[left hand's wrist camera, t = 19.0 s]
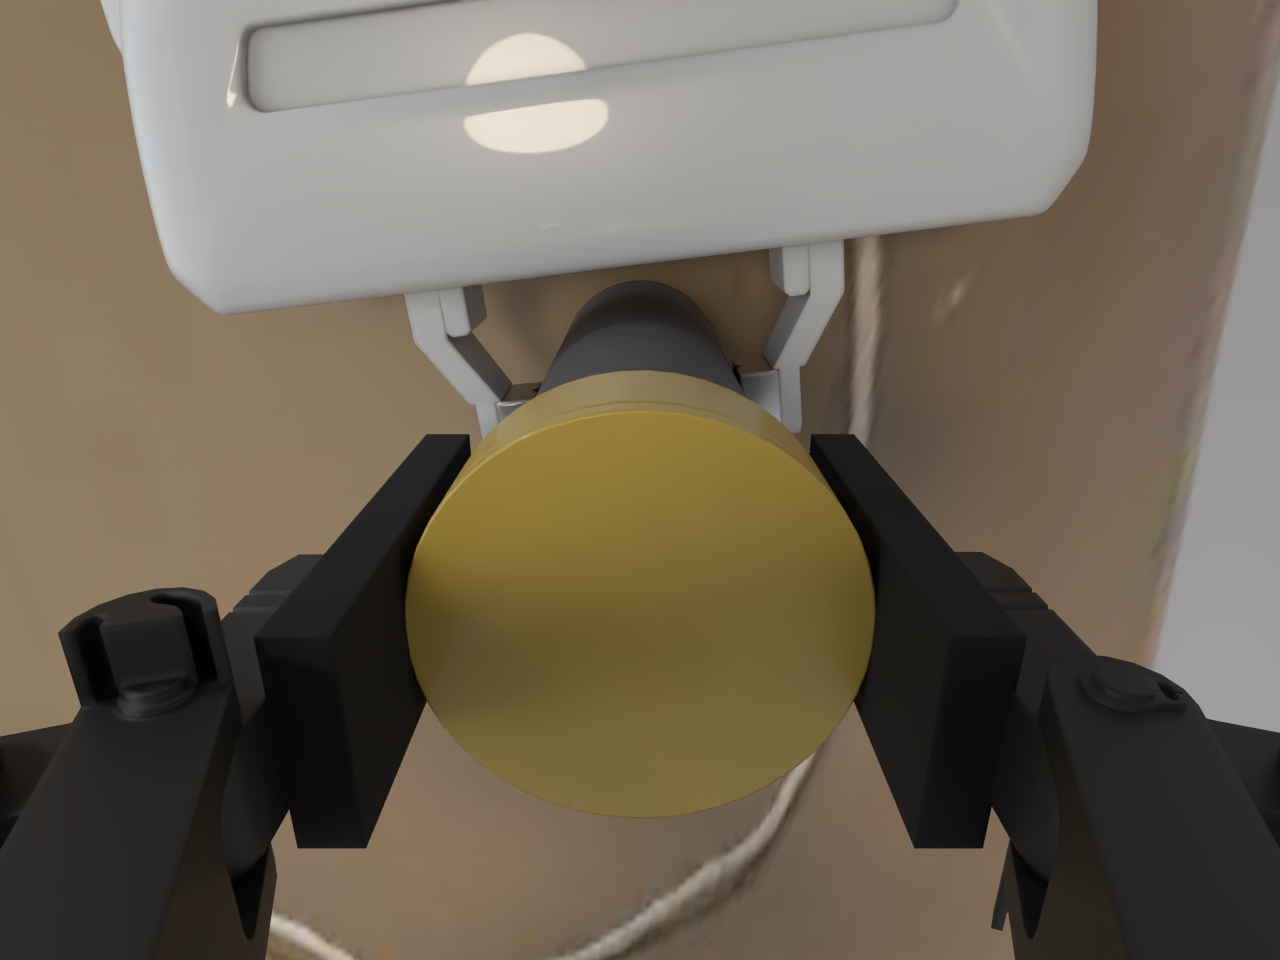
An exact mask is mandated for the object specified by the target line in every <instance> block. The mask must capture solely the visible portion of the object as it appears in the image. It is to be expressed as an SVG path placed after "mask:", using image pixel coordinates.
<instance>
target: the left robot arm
mask: <svg viewBox="0 0 1280 960" xmlns="http://www.w3.org/2000/svg"><path fill="white" fill-rule="evenodd" d="M470 456H471V450H470V438H469V434H427V435H426V436H425V437H424V438H423V439H422V440H421V442H420V443H419V444H418V445H417V446H416V447H415V449H414V450H413V451H412V452H411V453H410V454H409V456H408V457H407V458H406V459H405V460H404V461H403V463H402V464H401V465H400V466H399V467H398V468H397V470H396V471H395V472H394V473H393V474H392V476H391V477H390V478H389V479H388V480H387V481H386V483H385V484H384V485H383V486H382V487H381V488H380V490H379V491H378V492H377V493H376V494H375V495H374V497H373V498H372V499H371V500H370V501H369V502H368V504H367V505H366V506H365V507H364V508H363V509H362V511H361V512H360V513H359V514H358V515H357V516H356V518H355V519H354V520H353V521H352V522H351V524H350V525H349V526H348V527H347V528H346V529H345V531H344V532H343V533H342V534H341V535H340V536H339V538H338V539H337V540H336V541H335V542H334V543H333V545H332V546H331V547H330V548H329V549H328V550H327V552H326V553H325V554H324V555H297V556H296V557H294V558H292V559H290V560H288V561H287V562H285V563H283V564H281V565H279V566H278V567H276V568H274V569H272V570H270V571H269V572H268V573H267V574H266V575H265V576H264V577H263V578H262V579H261V580H260V581H259V582H258V583H257V584H256V585H255V586H254V587H253V588H252V589H251V590H250V591H249V595H245V596H244V598H243V599H242V600H241V601H240V602H239V603H238V604H237V605H236V606H235V607H234V608H233V612H229V613H228V614H227V615H226V616H225V617H224V618H223V619H222V620H221V621H220V616H219V612H218V607H217V603H216V599H215V598H214V597H212V596H211V595H209V594H208V593H206V592H205V591H202V590H196V589H190V588H184V587H181V588H162V589H153V590H149V591H144V592H139V593H134V594H129V595H126V596H123V597H120V598H117V599H114V600H111V601H109V602H106V603H103V604H100V605H98V606H96V607H94V608H92V609H90V610H88V611H87V612H85V613H83V614H81V615H79V616H77V617H75V618H74V619H73V620H72V621H70V622H69V623H68V624H67V625H66V626H65V627H64V628H63V629H62V630H61V631H60V632H58V635H59V638H60V641H61V644H62V647H63V651H64V654H65V657H66V660H67V663H68V666H69V669H70V673H71V676H72V679H73V682H74V685H75V688H76V691H77V695H78V698H79V701H80V704H81V708H80V710H79V712H78V714H77V715H76V717H75V719H74V721H73V722H72V723H69V724H64V725H59V726H53V727H48V728H43V729H38V730H32V731H27V732H22V733H17V734H11V735H6V736H1V737H0V960H265V956H266V949H267V942H268V935H269V929H270V922H271V915H272V908H273V901H274V894H275V887H276V880H277V872H276V864H275V858H274V854H273V849H272V845H271V841H272V839H273V837H274V835H275V834H276V832H277V830H278V828H279V826H280V825H281V823H282V821H283V819H284V818H285V816H286V814H287V812H288V810H289V809H290V814H291V819H292V824H293V828H294V833H295V838H296V843H297V847H298V848H366V847H367V845H368V842H369V840H370V837H371V835H372V833H373V830H374V828H375V825H376V823H377V820H378V818H379V816H380V813H381V811H382V808H383V806H384V803H385V801H386V799H387V796H388V794H389V791H390V789H391V786H392V784H393V782H394V779H395V777H396V774H397V772H398V770H399V767H400V765H401V762H402V760H403V757H404V755H405V753H406V750H407V748H408V745H409V743H410V740H411V738H412V736H413V733H414V731H415V728H416V726H417V723H418V721H419V719H420V716H421V714H422V711H423V709H424V707H425V704H426V702H427V700H426V698H425V696H424V693H423V691H422V689H421V687H420V685H419V683H418V681H417V678H416V675H415V672H414V669H413V665H412V662H411V659H410V653H409V645H408V637H407V630H406V621H405V604H404V601H405V594H406V587H407V580H408V573H409V570H410V567H411V564H412V560H413V557H414V554H415V551H416V547H417V545H418V543H419V541H420V539H421V537H422V535H423V533H424V531H425V529H426V526H427V524H428V522H429V520H430V519H431V517H432V516H433V514H434V513H435V511H436V510H437V508H438V506H439V505H440V503H441V501H442V500H443V498H444V497H445V495H446V494H447V492H448V490H449V489H450V487H451V486H452V484H453V482H454V481H455V479H456V478H457V476H458V474H459V473H460V471H461V470H462V468H463V467H464V465H465V464H466V462H467V461H468V459H469V458H470ZM810 456H811V458H812V459H813V461H814V462H815V464H816V466H817V467H818V469H819V470H820V472H821V474H822V475H823V477H824V478H825V480H826V482H827V483H828V485H829V486H830V488H831V490H832V491H833V493H834V494H835V496H836V498H837V499H838V501H839V502H840V504H841V506H842V507H843V509H844V510H845V512H846V514H847V516H848V517H849V519H850V521H851V523H852V524H853V526H854V528H855V530H856V531H857V533H858V535H859V537H860V540H861V542H862V545H863V548H864V550H865V553H866V556H867V558H868V561H869V564H870V569H871V574H872V578H873V583H874V588H875V601H876V619H875V627H874V635H873V643H872V650H871V656H870V660H869V665H868V669H867V671H866V674H865V676H864V679H863V681H862V684H861V686H860V689H859V691H858V694H857V695H856V697H855V699H854V703H855V705H856V708H857V710H858V713H859V715H860V717H861V720H862V722H863V725H864V727H865V730H866V732H867V734H868V737H869V739H870V742H871V744H872V747H873V749H874V751H875V754H876V756H877V759H878V761H879V763H880V766H881V768H882V771H883V773H884V776H885V778H886V780H887V783H888V785H889V788H890V790H891V793H892V795H893V797H894V800H895V802H896V805H897V807H898V810H899V812H900V814H901V817H902V819H903V822H904V824H905V826H906V829H907V831H908V834H909V836H910V839H911V841H912V843H913V846H914V848H983V845H984V840H985V835H986V831H987V826H988V821H989V817H990V812H991V807H993V809H994V811H995V813H996V814H997V816H998V818H999V820H1000V821H1001V823H1002V825H1003V827H1004V828H1005V830H1006V832H1007V834H1008V836H1009V837H1010V841H1009V845H1008V849H1007V854H1006V858H1005V863H1004V867H1003V871H1002V876H1001V880H1000V885H999V889H998V893H997V898H996V902H995V907H994V911H993V918H992V925H991V928H993V929H997V930H1001V931H1002V930H1003V926H1004V922H1005V917H1006V914H1007V913H1009V920H1010V927H1011V933H1012V940H1013V947H1014V954H1015V960H1280V733H1278V732H1272V731H1267V730H1262V729H1257V728H1252V727H1246V726H1241V725H1236V724H1230V723H1225V722H1220V721H1215V720H1211V719H1207V718H1206V717H1205V716H1204V714H1203V712H1202V710H1201V709H1200V707H1199V705H1198V704H1197V703H1196V702H1195V701H1194V700H1193V699H1192V697H1191V696H1190V695H1189V694H1188V693H1187V692H1186V691H1185V690H1184V689H1183V688H1181V687H1180V686H1178V685H1177V684H1175V683H1174V682H1172V681H1170V680H1169V679H1167V678H1166V677H1164V676H1163V675H1161V674H1159V673H1156V672H1154V671H1152V670H1149V669H1147V668H1144V667H1142V666H1140V665H1137V664H1135V663H1131V662H1127V661H1123V660H1119V659H1115V658H1111V657H1107V656H1097V655H1096V654H1095V653H1094V652H1093V651H1092V650H1091V649H1090V648H1089V647H1088V646H1087V645H1086V644H1085V643H1084V642H1083V641H1082V640H1081V639H1080V638H1079V637H1078V636H1077V635H1076V634H1075V633H1074V632H1073V631H1072V630H1071V629H1070V628H1069V627H1068V626H1067V624H1066V623H1065V622H1064V621H1063V620H1062V619H1061V618H1060V617H1059V616H1058V615H1057V614H1056V613H1055V612H1054V611H1053V610H1048V605H1047V604H1046V603H1045V602H1044V601H1043V600H1042V599H1041V598H1040V597H1039V596H1038V595H1037V594H1036V593H1032V588H1031V587H1030V586H1029V585H1028V584H1027V583H1026V582H1025V581H1024V580H1023V579H1022V578H1021V577H1020V576H1019V575H1018V574H1017V573H1016V572H1015V571H1014V570H1013V569H1012V568H1010V567H1008V566H1006V565H1005V564H1003V563H1001V562H999V561H997V560H996V559H994V558H992V557H990V556H988V555H986V554H985V553H983V552H954V551H953V550H952V549H951V547H950V546H949V545H948V544H947V543H946V542H945V540H944V539H943V538H942V537H941V536H940V535H939V533H938V532H937V531H936V530H935V529H934V528H933V526H932V525H931V524H930V523H929V522H928V521H927V519H926V518H925V517H924V516H923V515H922V514H921V512H920V511H919V510H918V509H917V508H916V506H915V505H914V504H913V503H912V502H911V501H910V499H909V498H908V497H907V496H906V495H905V494H904V492H903V491H902V490H901V489H900V488H899V487H898V485H897V484H896V483H895V482H894V481H893V480H892V478H891V477H890V476H889V475H888V474H887V473H886V471H885V470H884V469H883V468H882V467H881V466H880V464H879V463H878V462H877V461H876V460H875V459H874V457H873V456H872V455H871V454H870V453H869V451H868V450H867V449H866V448H865V447H864V446H863V444H862V443H861V442H860V441H859V440H858V439H857V437H856V436H855V435H854V434H811V444H810Z"/></svg>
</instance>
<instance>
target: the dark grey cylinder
mask: <svg viewBox="0 0 1280 960" xmlns="http://www.w3.org/2000/svg"><path fill="white" fill-rule="evenodd" d="M643 370H650V371H660V372H669V373H678V374H682V375H686V376H691V377H695V378H699V379H703V380H706V381H709V382H712V383H714V384H717V385H720V386H722V387H725V388H728V389H730V390H732V391H734V392H736V393H738V394H740V395H741V396H743V397H745V395H744V393H743V391H742V389H741V387H740V385H739V383H738V381H737V379H736V377H735V375H734V373H733V371H732V369H731V367H730V365H729V363H728V361H727V359H726V357H725V355H724V353H723V351H722V349H721V347H720V345H719V343H718V341H717V339H716V337H715V335H714V333H713V331H712V329H711V327H710V324H709V323H708V321H707V319H706V317H705V316H704V314H703V313H702V311H701V310H700V309H699V308H698V306H697V305H696V304H695V303H694V302H693V301H692V300H691V299H689V298H688V297H687V296H685V295H684V294H683V293H681V292H679V291H678V290H676V289H674V288H672V287H669V286H667V285H664V284H660V283H656V282H650V281H631V282H625V283H620V284H617V285H614V286H611V287H609V288H607V289H605V290H603V291H601V292H600V293H598V294H597V295H595V296H594V297H593V298H592V299H590V300H589V301H588V302H587V303H586V304H585V305H584V306H583V307H582V309H581V310H580V311H579V313H578V314H577V315H576V317H575V319H574V321H573V323H572V324H571V326H570V328H569V331H568V333H567V335H566V337H565V339H564V341H563V343H562V345H561V347H560V349H559V351H558V353H557V355H556V357H555V359H554V361H553V363H552V365H551V367H550V369H549V371H548V373H547V375H546V377H545V379H544V381H543V383H542V385H541V387H540V389H539V391H538V393H537V395H536V397H537V396H538V395H540V394H542V393H545V392H547V391H549V390H551V389H554V388H556V387H558V386H560V385H563V384H565V383H568V382H572V381H575V380H579V379H582V378H585V377H589V376H592V375H599V374H605V373H611V372H618V371H643ZM745 398H746V397H745Z"/></svg>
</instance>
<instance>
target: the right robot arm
mask: <svg viewBox="0 0 1280 960" xmlns="http://www.w3.org/2000/svg"><path fill="white" fill-rule="evenodd" d="M100 1H101V4H102V7H103V10H104V13H105V16H106V19H107V23H108V26H109V29H110V32H111V34H112V37H113V39H114V41H115V43H116V45H117V47H118V49H119V50H120V52H121V54H122V56H123V64H124V70H125V77H126V83H127V89H128V96H129V102H130V108H131V114H132V120H133V126H134V131H135V136H136V141H137V146H138V151H139V156H140V160H141V165H142V170H143V175H144V179H145V184H146V188H147V192H148V196H149V200H150V205H151V209H152V213H153V217H154V220H155V224H156V228H157V232H158V236H159V239H160V243H161V246H162V249H163V252H164V255H165V258H166V261H167V264H168V266H169V268H170V270H171V272H172V274H173V275H174V277H175V278H176V279H177V280H178V281H179V282H180V283H181V284H182V285H183V286H185V287H186V288H187V289H188V290H189V291H190V292H191V293H192V294H194V295H195V296H196V297H197V298H198V299H199V300H200V301H202V302H203V303H204V304H205V305H207V306H208V307H209V308H210V309H212V310H213V311H214V312H216V313H218V314H221V315H237V314H246V313H254V312H262V311H270V310H278V309H286V308H295V307H303V306H311V305H319V304H327V303H335V302H343V301H351V300H359V299H367V298H375V297H383V296H392V295H400V294H404V297H405V302H406V306H407V311H408V315H409V319H410V324H411V328H412V333H413V337H414V342H415V344H416V345H417V346H418V347H419V348H420V349H421V350H422V351H423V353H424V354H425V355H426V356H427V357H428V358H429V359H430V360H431V362H432V363H433V364H434V365H435V366H436V367H437V368H438V369H439V371H440V372H441V373H442V374H443V375H444V376H445V377H446V378H447V379H448V381H449V382H450V383H451V384H452V385H453V386H454V387H455V388H456V390H457V391H458V392H459V393H460V394H461V395H462V396H463V397H464V399H465V400H466V401H467V402H468V403H469V404H470V405H476V410H477V415H478V420H479V425H480V429H481V434H482V439H484V438H485V437H486V436H487V435H488V434H489V433H490V432H491V431H492V429H493V428H494V427H495V426H496V425H498V424H499V423H500V422H501V421H502V420H504V419H505V418H506V417H507V416H508V415H510V414H511V413H512V412H513V411H514V410H516V409H517V408H519V407H520V406H522V405H524V404H525V403H527V402H529V401H530V400H532V399H533V398H535V397H536V395H537V393H538V391H539V389H540V387H541V385H542V382H536V383H525V384H515V385H511V384H512V382H511V381H510V380H509V379H508V377H507V376H506V375H505V374H504V372H503V371H502V370H501V368H500V367H499V366H498V365H497V363H496V362H495V361H494V360H493V358H492V357H491V356H490V354H489V353H488V352H487V351H486V349H485V348H484V347H483V346H482V344H481V343H480V342H479V341H478V339H477V338H476V337H475V335H474V334H473V333H472V331H473V330H474V329H475V328H476V327H477V326H478V325H480V324H481V323H482V322H483V321H484V320H485V319H486V317H487V312H486V307H485V301H484V295H483V290H482V284H488V283H497V282H505V281H513V280H521V279H529V278H537V277H545V276H553V275H561V274H569V273H577V272H585V271H593V270H602V269H610V268H618V267H626V266H634V265H642V264H650V263H658V262H666V261H674V260H682V259H690V258H698V257H707V256H715V255H723V254H731V253H739V252H747V251H755V250H763V249H768V251H769V264H770V278H771V282H772V283H773V284H774V285H775V286H776V287H778V288H779V289H781V290H782V291H783V292H785V293H786V294H788V295H789V296H788V299H787V301H786V303H785V305H784V307H783V309H782V311H781V314H780V316H779V318H778V320H777V322H776V324H775V326H774V328H773V331H772V333H771V335H770V337H769V339H768V341H767V343H766V346H765V348H764V350H763V352H762V354H763V355H761V356H754V357H747V358H739V359H732V371H733V373H734V375H735V377H736V379H737V381H738V383H739V385H740V387H741V389H742V391H743V393H744V395H745V397H746V398H747V399H749V400H751V401H753V402H754V403H756V404H757V405H759V406H760V407H761V408H763V409H764V410H766V411H767V412H768V413H770V414H771V415H772V416H774V417H775V418H776V419H778V420H779V421H780V422H781V423H782V424H783V425H784V426H785V427H786V428H787V429H788V430H789V431H790V432H791V433H792V434H794V433H800V431H801V425H802V414H801V392H800V369H799V367H802V366H805V364H806V362H807V361H808V359H809V357H810V355H811V353H812V351H813V349H814V348H815V346H816V344H817V342H818V340H819V338H820V336H821V334H822V333H823V331H824V329H825V327H826V325H827V323H828V321H829V320H830V318H831V316H832V314H833V312H834V310H835V308H836V306H837V305H838V303H839V301H840V299H841V297H842V295H843V293H844V239H852V238H860V237H868V236H876V235H884V234H892V233H900V232H909V231H917V230H925V229H933V228H941V227H949V226H957V225H965V224H973V223H981V222H989V221H997V220H1005V219H1013V218H1021V217H1029V216H1036V215H1039V214H1041V213H1044V212H1045V211H1046V210H1047V209H1049V207H1050V206H1051V205H1052V204H1053V203H1054V202H1055V200H1056V199H1057V198H1058V197H1059V196H1060V194H1061V193H1062V191H1063V190H1064V189H1065V187H1066V186H1067V184H1068V183H1069V182H1070V180H1071V179H1072V177H1073V176H1074V175H1075V173H1076V172H1077V170H1078V169H1079V168H1080V166H1081V165H1082V163H1083V161H1084V159H1085V156H1086V154H1087V150H1088V145H1089V140H1090V136H1091V128H1092V119H1093V108H1094V95H1095V79H1096V61H1097V31H1098V0H100Z"/></svg>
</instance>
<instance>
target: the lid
mask: <svg viewBox="0 0 1280 960" xmlns="http://www.w3.org/2000/svg"><path fill="white" fill-rule="evenodd" d="M404 604H405V621H406V630H407V637H408V645H409V653H410V659H411V662H412V665H413V669H414V672H415V675H416V678H417V681H418V683H419V685H420V687H421V689H422V691H423V693H424V696H425V698H426V700H427V702H428V704H429V705H430V707H431V708H432V710H433V711H434V713H435V714H436V716H437V718H438V719H439V721H440V722H441V724H442V725H443V726H444V728H445V729H446V730H447V731H448V732H449V733H450V735H451V736H452V737H453V738H454V739H455V740H456V741H457V743H458V744H459V745H460V746H461V747H462V748H463V749H464V750H465V751H466V752H468V753H469V754H470V755H471V756H472V757H473V758H474V759H475V760H476V761H478V762H479V763H480V764H481V765H482V766H484V767H485V768H487V769H488V770H490V771H491V772H492V773H494V774H495V775H497V776H498V777H499V778H501V779H502V780H504V781H506V782H508V783H510V784H511V785H513V786H515V787H517V788H519V789H521V790H522V791H524V792H526V793H528V794H531V795H533V796H536V797H538V798H540V799H543V800H545V801H548V802H550V803H553V804H556V805H560V806H563V807H567V808H570V809H573V810H577V811H582V812H587V813H592V814H598V815H603V816H614V817H626V818H656V817H667V816H675V815H684V814H690V813H694V812H698V811H703V810H707V809H711V808H715V807H718V806H721V805H724V804H727V803H730V802H733V801H736V800H739V799H741V798H743V797H745V796H748V795H750V794H752V793H754V792H756V791H758V790H760V789H762V788H765V787H766V786H768V785H770V784H771V783H773V782H774V781H776V780H778V779H779V778H781V777H783V776H784V775H786V774H788V773H789V772H790V771H791V770H793V769H794V768H795V767H797V766H798V765H799V764H800V763H802V762H803V761H804V760H805V759H807V758H808V757H809V756H810V755H811V754H812V753H813V752H814V751H815V750H816V749H817V748H818V747H819V746H820V745H821V744H822V743H823V742H824V741H825V740H826V739H827V738H828V737H829V736H830V734H831V733H832V732H833V731H834V729H835V728H836V727H837V725H838V724H839V723H840V722H841V720H842V719H843V718H844V716H845V714H846V713H847V711H848V709H849V708H850V706H851V704H852V702H853V701H854V699H855V697H856V695H857V694H858V691H859V689H860V686H861V684H862V681H863V679H864V676H865V674H866V671H867V669H868V665H869V660H870V656H871V650H872V643H873V635H874V627H875V619H876V601H875V588H874V583H873V578H872V574H871V569H870V564H869V561H868V558H867V556H866V553H865V550H864V548H863V545H862V542H861V540H860V537H859V535H858V533H857V531H856V530H855V528H854V526H853V524H852V523H851V521H850V519H849V517H848V516H847V514H846V512H845V510H844V509H843V507H842V506H841V504H840V502H839V501H838V499H837V498H836V496H835V494H834V493H833V491H832V490H831V488H830V486H829V485H828V483H827V482H826V480H825V478H824V477H823V475H822V474H821V472H820V470H819V469H818V467H817V466H816V464H815V462H814V461H813V459H812V458H811V456H810V455H809V454H808V452H807V451H806V450H805V448H804V447H803V446H802V445H801V443H800V442H799V441H798V439H797V438H796V437H795V436H794V435H793V434H792V433H791V432H790V431H789V430H788V429H787V428H786V427H785V426H784V425H783V424H782V423H781V422H780V421H779V420H778V419H776V418H775V417H774V416H772V415H771V414H770V413H768V412H767V411H766V410H764V409H763V408H761V407H760V406H759V405H757V404H756V403H754V402H753V401H751V400H749V399H747V398H745V397H743V396H741V395H740V394H738V393H736V392H734V391H732V390H730V389H728V388H725V387H722V386H720V385H717V384H714V383H712V382H709V381H706V380H703V379H699V378H695V377H691V376H686V375H682V374H678V373H669V372H660V371H650V370H643V371H618V372H611V373H605V374H599V375H592V376H589V377H585V378H582V379H579V380H575V381H572V382H568V383H565V384H563V385H560V386H558V387H556V388H554V389H551V390H549V391H547V392H545V393H542V394H540V395H538V396H537V397H535V398H533V399H532V400H530V401H529V402H527V403H525V404H524V405H522V406H520V407H519V408H517V409H516V410H514V411H513V412H512V413H511V414H510V415H508V416H507V417H506V418H505V419H504V420H502V421H501V422H500V423H499V424H498V425H496V426H495V427H494V428H493V429H492V431H491V432H490V433H489V434H488V435H487V436H486V437H485V438H484V439H483V440H482V441H481V443H480V444H479V445H478V446H477V447H476V449H475V450H474V452H473V453H472V455H471V456H470V458H469V459H468V461H467V462H466V464H465V465H464V467H463V468H462V470H461V471H460V473H459V474H458V476H457V478H456V479H455V481H454V482H453V484H452V486H451V487H450V489H449V490H448V492H447V494H446V495H445V497H444V498H443V500H442V501H441V503H440V505H439V506H438V508H437V510H436V511H435V513H434V514H433V516H432V517H431V519H430V520H429V522H428V524H427V526H426V529H425V531H424V533H423V535H422V537H421V539H420V541H419V543H418V545H417V547H416V551H415V554H414V557H413V560H412V564H411V567H410V570H409V573H408V580H407V587H406V594H405V601H404Z"/></svg>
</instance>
